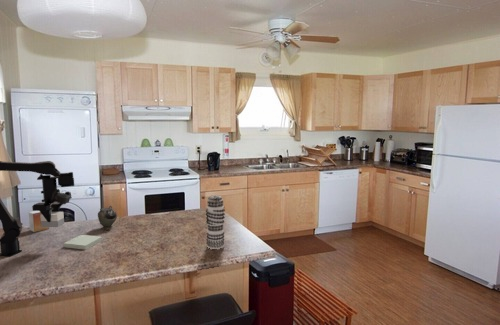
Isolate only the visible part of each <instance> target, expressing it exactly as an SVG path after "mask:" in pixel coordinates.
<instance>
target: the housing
mask: <svg viewBox="0 0 500 325" xmlns="http://www.w3.org/2000/svg"><path fill="white" fill-rule="evenodd" d="M64 214H65V213H64V211H59V212H52V211H51V222H47V220H46V219H45V217H44V216H43V215H42V214H41V215H40V217H41V227H49V228H60V227H62V226H63V225H65V218H64V216H65V215H64Z"/></svg>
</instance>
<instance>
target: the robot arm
mask: <svg viewBox="0 0 500 325" xmlns="http://www.w3.org/2000/svg"><path fill="white" fill-rule="evenodd" d="M1 171H2V172H3V171H4V172H30V173H31V172H32V173H35V174H36V173H37V174H39V176H37V179H36V180H37V181H40V180H41V183H42V190H41V191H40V194H43V195H42V196H43V199H41V202H36V203H34V204H33V205H32V207H31V208H32V212H33V211H40V212H41V213H42V215H43V216H44V217H45V219H46V220H47V222H51V212H60V210H61V207H62V206H63V205H66V204H68V203H70V200H71V199H72V193H71V191H65V192H61V190H60V189H59V188H58V186H59V187H61V188H66V187H75V178H74V172H73V171H69V172H61V171H59V170H58V168H57V167H56V164H55V163H54V162H53V161H51V160H45V161H38V162H18V161H1V160H0V172H1ZM19 218H20V217H16V218H15V217H13V216H12V215H11V212H9V209H8V208H7V207H6V205H5V204H4V202H3V200H2V199H1V198H0V222H1V226H2V230H3V234H2V235H1V236H0V256H4V257H12V256H15V255H16V254H19V253H21V252H23V249H21V247H20V240H19V236H20V234H21V232H22V230H23V224H24V223H22V222H21V221H20V220H21V219H19Z"/></svg>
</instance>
